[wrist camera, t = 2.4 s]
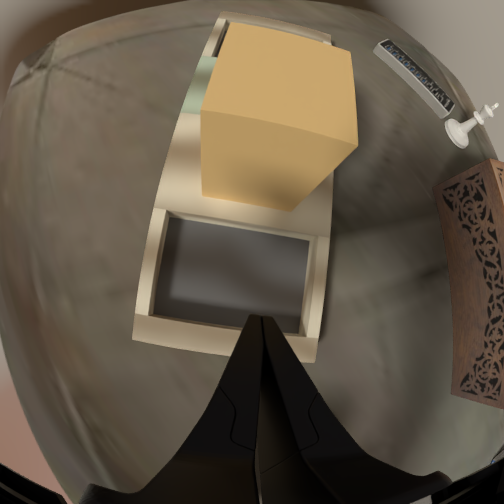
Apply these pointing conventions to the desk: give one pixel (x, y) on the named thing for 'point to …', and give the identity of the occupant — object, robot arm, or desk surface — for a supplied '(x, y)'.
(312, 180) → the ochre block
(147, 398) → the desk surface
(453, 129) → the chess piece
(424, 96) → the multiport hub
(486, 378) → the tissue box cover
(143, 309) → the trap board
